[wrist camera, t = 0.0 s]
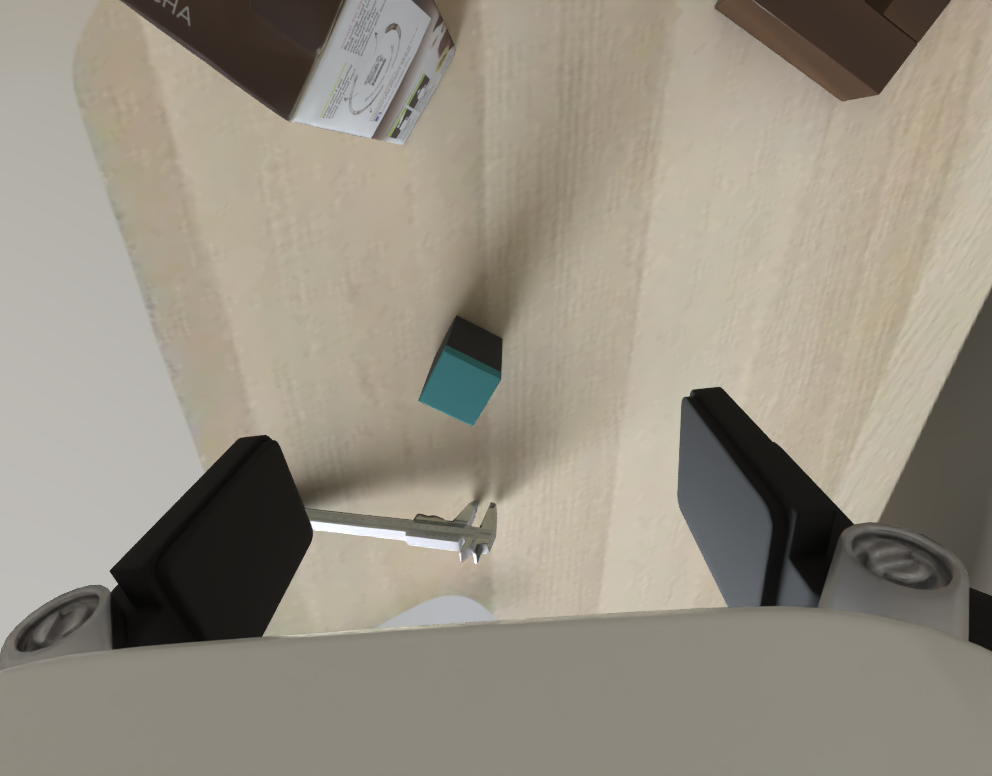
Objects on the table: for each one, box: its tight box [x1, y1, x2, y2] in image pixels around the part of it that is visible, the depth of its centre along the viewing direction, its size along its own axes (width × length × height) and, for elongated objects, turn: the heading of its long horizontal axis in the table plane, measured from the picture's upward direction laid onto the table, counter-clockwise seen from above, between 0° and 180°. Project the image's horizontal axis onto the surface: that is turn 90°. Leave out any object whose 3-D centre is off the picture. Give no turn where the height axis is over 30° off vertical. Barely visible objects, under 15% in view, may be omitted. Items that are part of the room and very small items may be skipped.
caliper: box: [305, 501, 497, 564], centre depth 38 cm, size 20×1×6 cm, turn 94°
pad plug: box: [418, 316, 503, 426], centre depth 31 cm, size 4×4×7 cm
